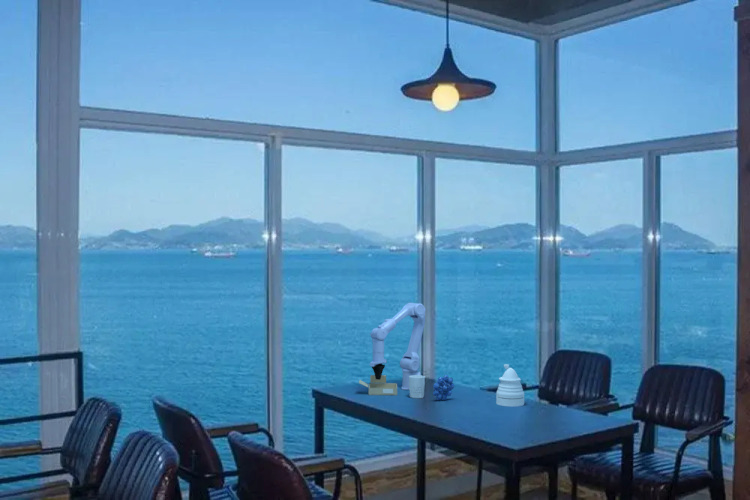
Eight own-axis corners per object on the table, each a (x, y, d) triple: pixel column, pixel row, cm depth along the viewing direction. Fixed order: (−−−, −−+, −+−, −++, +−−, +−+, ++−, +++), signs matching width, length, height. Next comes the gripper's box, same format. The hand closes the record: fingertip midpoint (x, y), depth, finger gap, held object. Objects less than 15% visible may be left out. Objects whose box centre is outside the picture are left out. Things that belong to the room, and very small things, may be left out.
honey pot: (492, 404, 355) (492, 365, 356) (501, 400, 367) (501, 362, 367) (519, 407, 349) (519, 367, 350) (527, 402, 361) (527, 364, 361)
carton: (396, 390, 391) (396, 383, 391) (397, 395, 377) (397, 388, 377) (369, 389, 392) (369, 383, 392) (368, 395, 377) (368, 387, 378)
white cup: (425, 395, 377) (425, 375, 377) (424, 398, 369) (424, 377, 369) (409, 395, 377) (409, 375, 377) (408, 398, 370) (408, 377, 370)
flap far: (368, 384, 386) (359, 379, 386) (368, 387, 378) (359, 382, 378) (368, 384, 386) (359, 380, 386) (367, 387, 378) (358, 382, 378)
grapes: (449, 397, 372) (449, 373, 372) (456, 400, 365) (456, 375, 366) (428, 399, 366) (428, 374, 366) (435, 402, 360) (436, 376, 360)
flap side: (386, 382, 391) (386, 375, 388) (386, 382, 391) (386, 375, 388) (370, 382, 391) (370, 375, 389) (370, 382, 391) (370, 375, 388)
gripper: (378, 354, 378) (378, 382, 377) (391, 351, 390) (391, 377, 390) (366, 353, 381) (366, 380, 381) (379, 350, 394) (379, 376, 394)
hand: (378, 379), depth 386 cm, fingers closed
